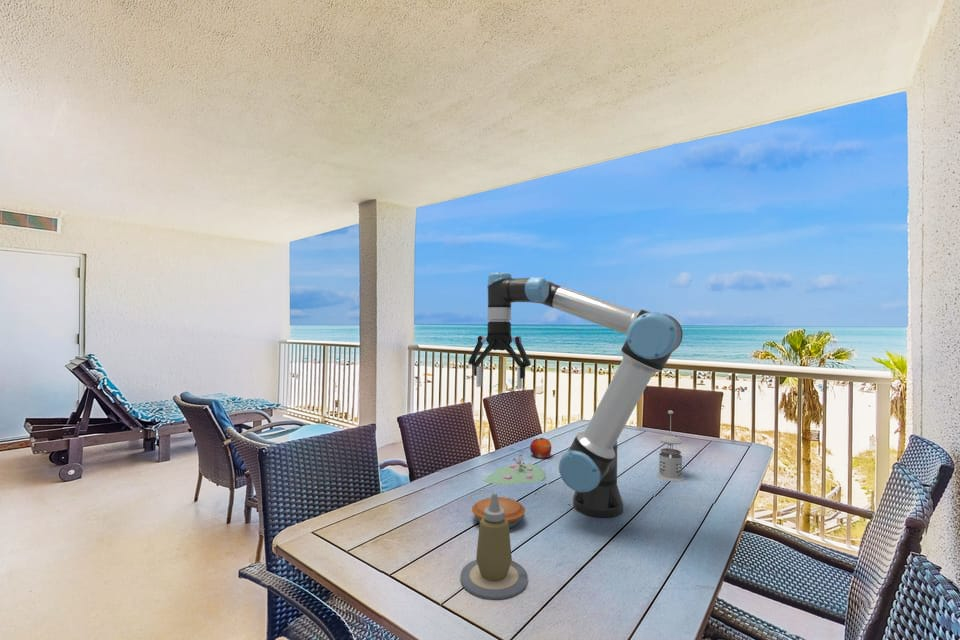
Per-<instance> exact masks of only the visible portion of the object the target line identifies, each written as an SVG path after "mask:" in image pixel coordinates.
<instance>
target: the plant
mask: <svg viewBox="0 0 960 640" xmlns="http://www.w3.org/2000/svg"><path fill="white" fill-rule="evenodd" d="M523 454H524V453H523V452H522V450H519V455H518V458H517V459H516V458H515V457H514V458H513V459H512V460H513V461H515V463H511V465H506V466H502V467H500V468H499V469H496V470H495V471H493V472H491V474H489V475H488V476H487V477H485V478H484V479H483V482H485V483H489V484H495V485H500V486H501V485H503V486H507V485H509V486H510V485H517V484H529V483H537V482H542V481H543V480H545V479H546V472H545V471H544V470H543V469H542V468H541V467H539V466H538V465H535V464H532V463H526V462H523V460H524V461H525V459H524V458H523V459H522V457H523Z"/></svg>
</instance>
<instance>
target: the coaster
mask: <svg viewBox="0 0 960 640" xmlns="http://www.w3.org/2000/svg"><path fill="white" fill-rule="evenodd" d="M527 573H528V572H527V571H526V569H525V568H524V567H523V566H522V565H521V564H519V563H518V562H516V561H514V560H512V561H511V564H510V567H509V570H508V573H507V576H506V577H505V578H504V579H502V580H499V581H490V580H486V579H485V578H483V577H482V575H481V573H480V570H479V567H478V564H477V560H476V559H475V560H472V561H470V562H469V563H467V564H466V565H465V566H463V568H462V569H461V571H460V583H461V586H462V588H463V589H464V590H465V591H466V592H468V593H469V594H471V595H472V596H476V597H477V598H481V599H484V600H485V599H486V600H497V601H498V600H504V599H505V600H506V599H510V598H513V597H515V596H517V595H519V594H521V593H522V592H523V591H524V590H525V589H526V588H527V586H528V581H529V580H528V578H529V577H528V574H527Z"/></svg>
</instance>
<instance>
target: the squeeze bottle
mask: <svg viewBox="0 0 960 640" xmlns="http://www.w3.org/2000/svg"><path fill="white" fill-rule="evenodd" d="M498 497H499V496H498V494H497V493H496V492H492V493H491V496H490V498H491V500H490V505H489V507H487V508H486V509H485V510H484V518H482V519H481V520H480V522H479V529H478V535H477V536H478V537H477V545H476V546H477V548H476V555H475V560H477V564H478V567H479V570H480V573H481V575H482V577H483V578H485V579H486V580H490V581H499V580H502V579H504V578H505V577H506V576H507V573H508V570H509V567H510V564H511V561H513V557H512V547H511V545H512V544H511V536H510V535H511V534H510V528H509V523H508V520H507V519H505V511H504V509H503V508H501V507H499V502H498Z"/></svg>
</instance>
